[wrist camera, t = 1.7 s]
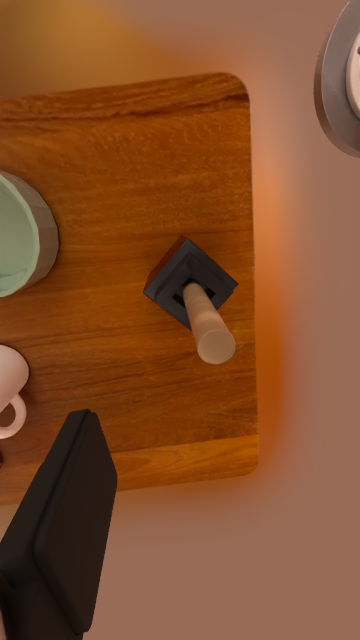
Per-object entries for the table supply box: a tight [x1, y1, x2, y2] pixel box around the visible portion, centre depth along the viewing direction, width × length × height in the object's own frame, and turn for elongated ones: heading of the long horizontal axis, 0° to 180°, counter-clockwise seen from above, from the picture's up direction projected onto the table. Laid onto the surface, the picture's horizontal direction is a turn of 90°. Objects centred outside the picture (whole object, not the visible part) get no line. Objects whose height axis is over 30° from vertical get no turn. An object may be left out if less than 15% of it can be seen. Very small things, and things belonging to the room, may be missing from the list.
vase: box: [143, 235, 238, 331], centre depth 30 cm, size 7×7×13 cm
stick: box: [181, 279, 236, 364], centre depth 20 cm, size 2×2×14 cm
